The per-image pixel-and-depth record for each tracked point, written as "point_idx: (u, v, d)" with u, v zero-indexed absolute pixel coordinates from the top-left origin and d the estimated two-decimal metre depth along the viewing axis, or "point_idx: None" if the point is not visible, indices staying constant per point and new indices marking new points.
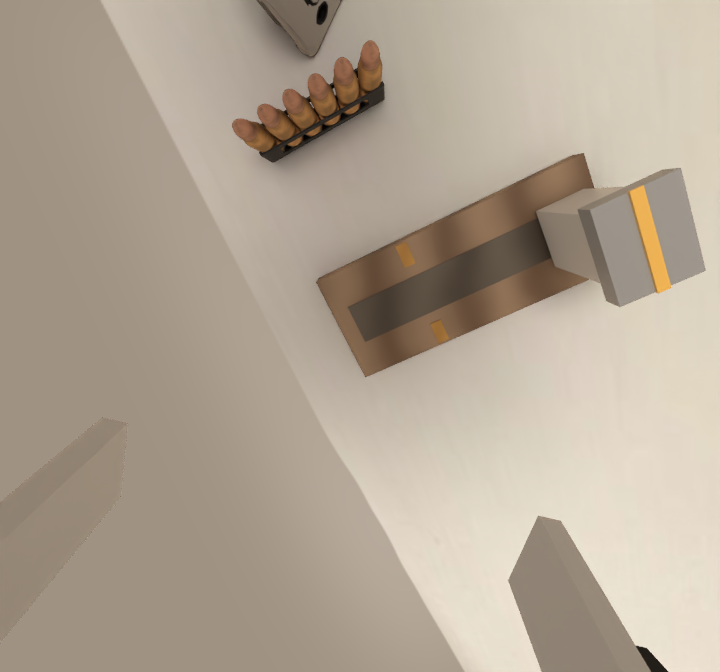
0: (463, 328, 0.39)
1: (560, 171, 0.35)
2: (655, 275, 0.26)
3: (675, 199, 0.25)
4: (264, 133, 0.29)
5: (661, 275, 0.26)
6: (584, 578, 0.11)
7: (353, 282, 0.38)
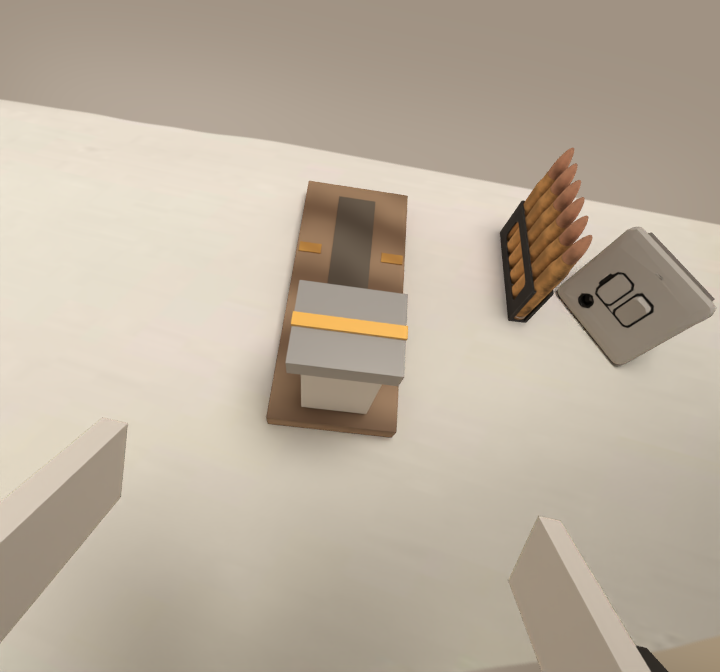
0: (299, 265, 0.38)
1: (391, 405, 0.34)
2: (312, 316, 0.24)
3: (376, 362, 0.23)
4: (544, 191, 0.38)
5: (309, 320, 0.24)
6: (584, 578, 0.11)
7: (392, 216, 0.42)
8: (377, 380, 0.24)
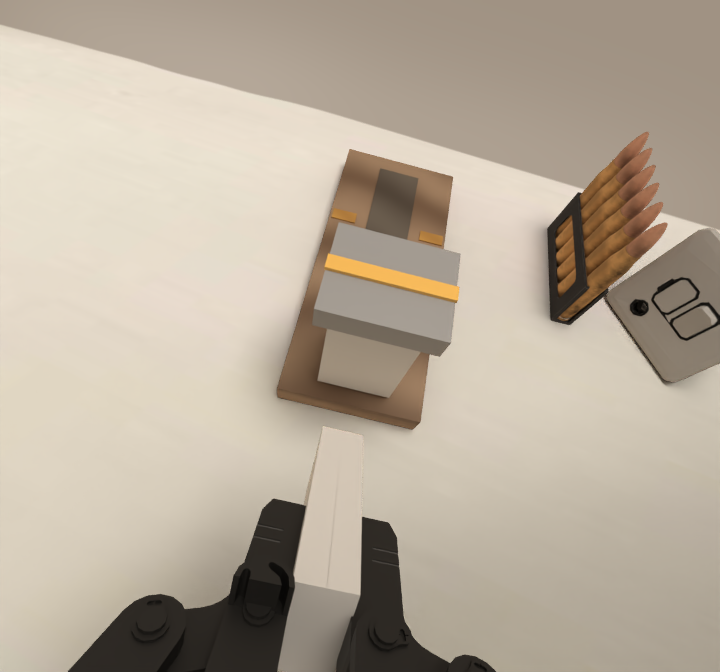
0: (330, 232, 0.35)
1: (417, 392, 0.30)
2: (350, 262, 0.20)
3: (419, 322, 0.20)
4: (606, 181, 0.35)
5: (346, 266, 0.20)
6: (351, 470, 0.13)
7: (435, 195, 0.39)
8: (417, 345, 0.20)
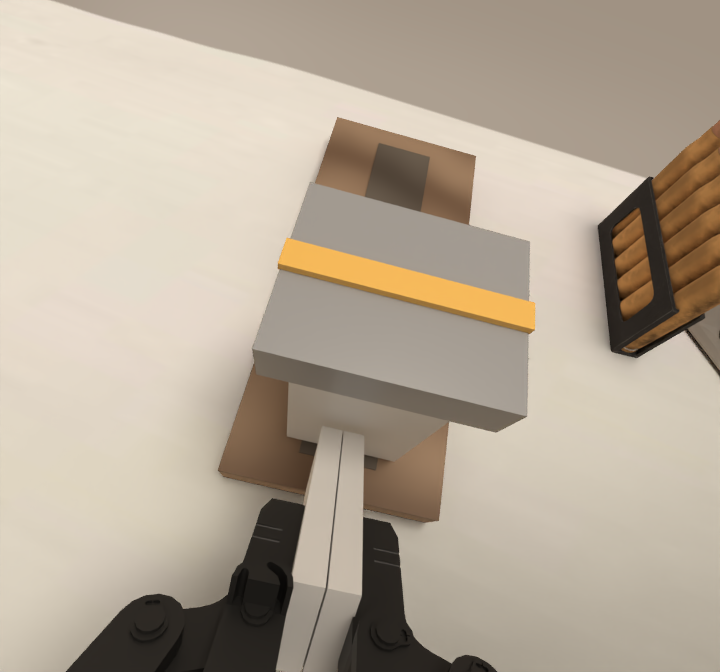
0: None
1: (433, 471, 0.20)
2: (329, 255, 0.11)
3: (464, 374, 0.10)
4: (698, 159, 0.25)
5: (321, 262, 0.10)
6: (352, 471, 0.13)
7: (452, 179, 0.29)
8: (456, 415, 0.11)
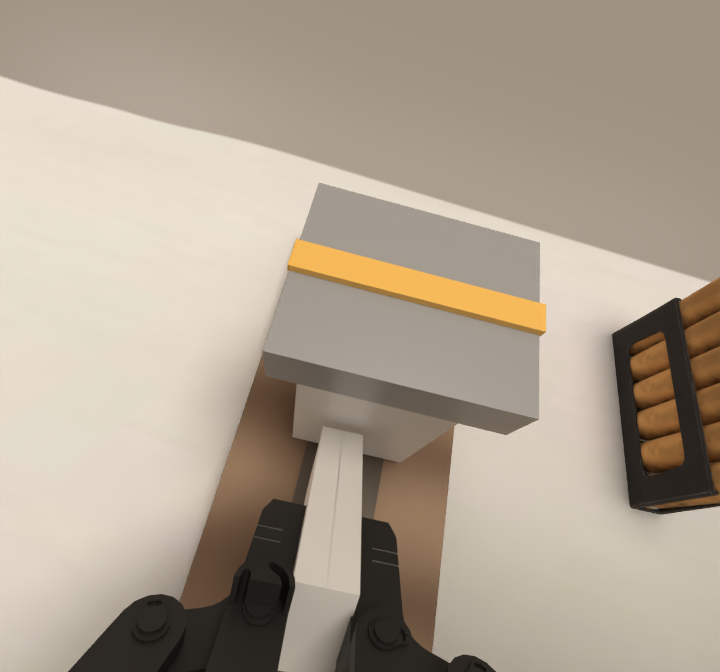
0: (266, 376, 0.21)
1: None
2: (339, 256, 0.11)
3: (475, 376, 0.10)
4: None
5: (331, 263, 0.10)
6: (351, 470, 0.13)
7: None
8: (466, 417, 0.11)
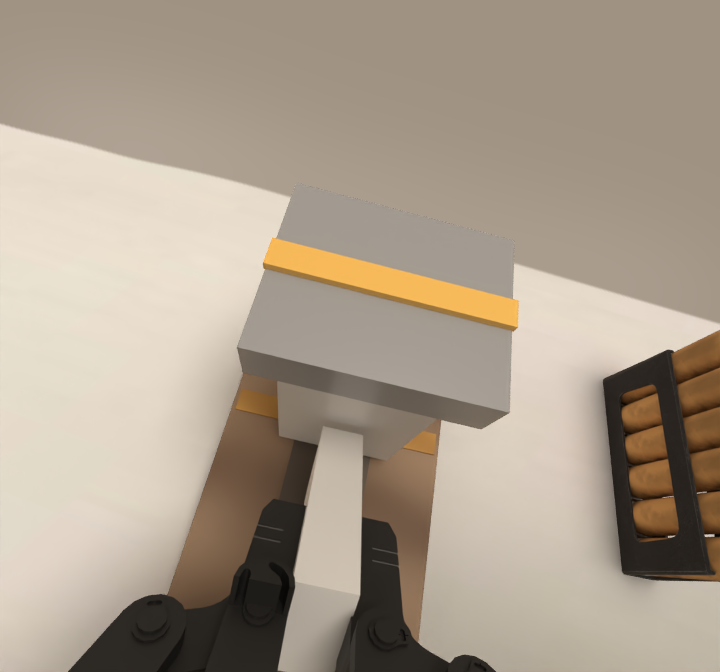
0: (231, 443, 0.19)
1: None
2: (314, 254, 0.11)
3: (447, 371, 0.10)
4: None
5: (306, 261, 0.11)
6: (351, 470, 0.13)
7: None
8: (441, 412, 0.11)
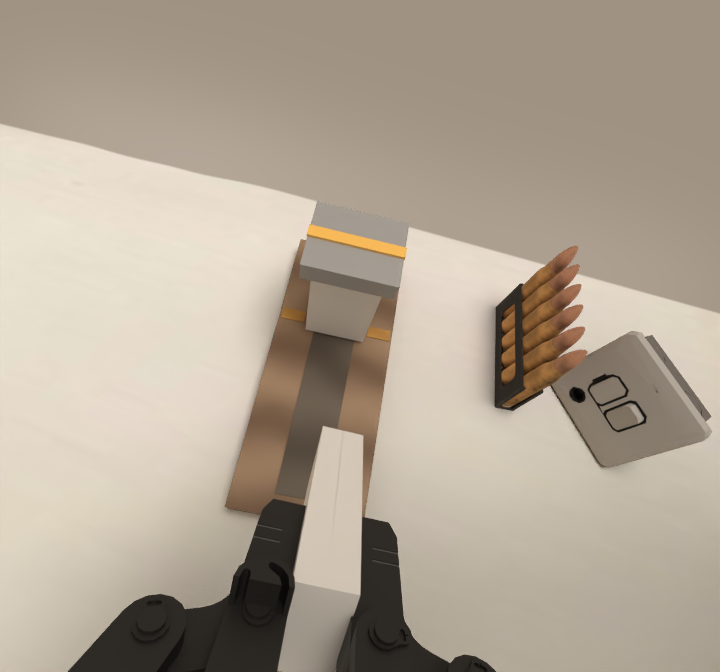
0: (280, 334, 0.36)
1: None
2: (326, 230, 0.28)
3: (377, 273, 0.27)
4: (543, 281, 0.36)
5: (323, 233, 0.28)
6: (351, 470, 0.13)
7: None
8: (376, 291, 0.28)
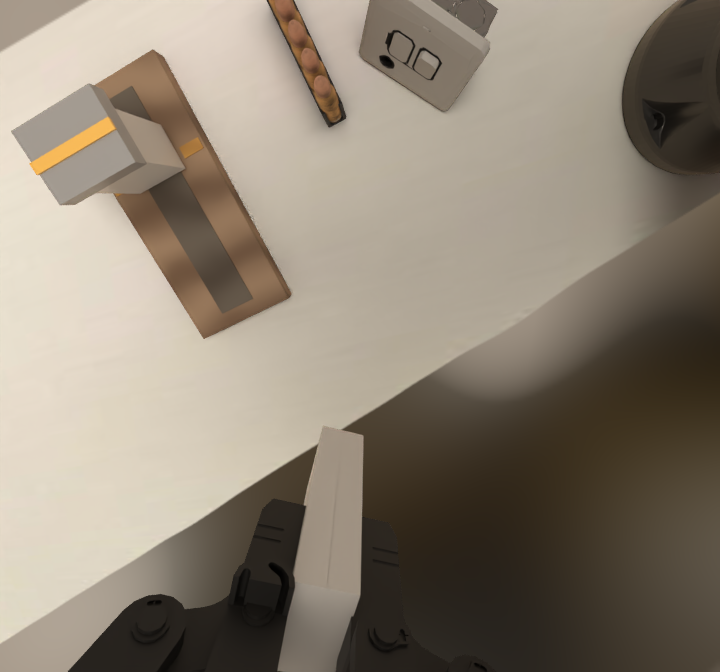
0: (129, 210, 0.41)
1: (273, 282, 0.42)
2: (44, 158, 0.29)
3: (110, 163, 0.29)
4: None
5: (45, 163, 0.29)
6: (351, 470, 0.13)
7: (158, 92, 0.38)
8: (127, 171, 0.30)
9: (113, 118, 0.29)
